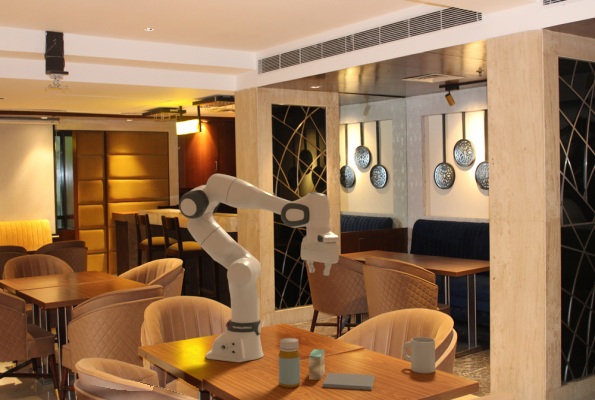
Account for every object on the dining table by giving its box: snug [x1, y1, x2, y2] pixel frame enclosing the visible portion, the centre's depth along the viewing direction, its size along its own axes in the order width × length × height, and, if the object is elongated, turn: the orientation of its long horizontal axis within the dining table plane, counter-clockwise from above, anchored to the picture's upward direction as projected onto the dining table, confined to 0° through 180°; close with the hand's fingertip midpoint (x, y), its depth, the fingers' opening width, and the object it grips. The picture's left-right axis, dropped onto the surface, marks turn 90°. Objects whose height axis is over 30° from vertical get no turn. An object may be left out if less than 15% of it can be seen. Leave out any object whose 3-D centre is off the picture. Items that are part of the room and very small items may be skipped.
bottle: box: [278, 337, 301, 389], centre depth 192 cm, size 7×7×15 cm
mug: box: [402, 336, 436, 374], centre depth 208 cm, size 12×8×11 cm
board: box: [322, 372, 375, 391], centre depth 194 cm, size 16×12×1 cm
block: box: [308, 349, 326, 381], centre depth 202 cm, size 4×9×8 cm, turn 168°
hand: (319, 274), depth 211 cm, fingers open, 8 cm apart
